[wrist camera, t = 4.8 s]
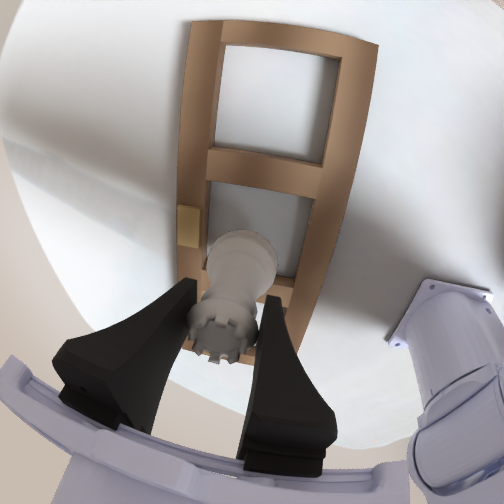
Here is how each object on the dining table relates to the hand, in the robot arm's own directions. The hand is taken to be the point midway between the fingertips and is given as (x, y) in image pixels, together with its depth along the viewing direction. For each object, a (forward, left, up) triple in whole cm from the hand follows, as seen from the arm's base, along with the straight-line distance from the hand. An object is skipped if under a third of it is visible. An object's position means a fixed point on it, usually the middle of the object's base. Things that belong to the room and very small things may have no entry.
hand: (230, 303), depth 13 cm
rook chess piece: (0, +1, -6) cm, 6 cm away
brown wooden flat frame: (0, 0, -8) cm, 8 cm away
